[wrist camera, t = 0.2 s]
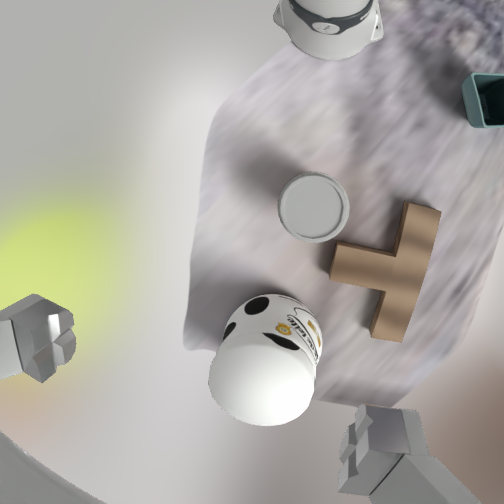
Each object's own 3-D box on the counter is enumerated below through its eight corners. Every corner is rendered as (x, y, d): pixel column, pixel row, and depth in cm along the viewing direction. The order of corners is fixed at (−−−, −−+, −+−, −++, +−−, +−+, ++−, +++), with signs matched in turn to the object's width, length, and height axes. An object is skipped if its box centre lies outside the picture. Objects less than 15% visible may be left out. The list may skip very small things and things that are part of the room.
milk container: (340, 315, 57) (345, 374, 40) (293, 380, 62) (282, 444, 45) (255, 270, 58) (228, 315, 41) (217, 342, 63) (184, 398, 46)
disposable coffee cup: (280, 176, 52) (269, 179, 41) (337, 165, 50) (342, 165, 39) (291, 232, 55) (284, 250, 43) (347, 222, 52) (355, 239, 41)
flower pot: (461, 132, 44) (484, 128, 35) (449, 83, 42) (470, 71, 34) (499, 130, 42) (524, 127, 33) (488, 83, 40) (512, 73, 31)
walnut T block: (347, 187, 51) (349, 189, 48) (435, 209, 48) (441, 211, 46) (317, 319, 58) (317, 327, 55) (398, 334, 55) (401, 342, 53)
